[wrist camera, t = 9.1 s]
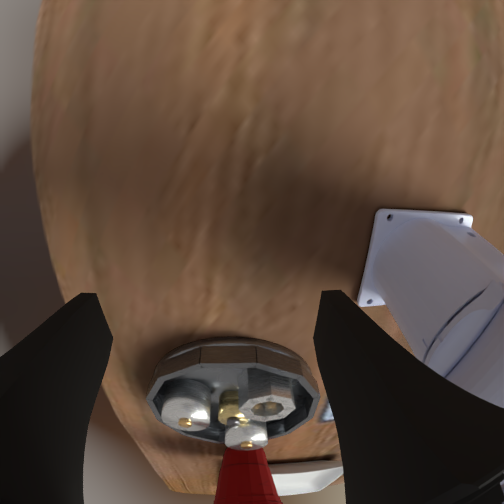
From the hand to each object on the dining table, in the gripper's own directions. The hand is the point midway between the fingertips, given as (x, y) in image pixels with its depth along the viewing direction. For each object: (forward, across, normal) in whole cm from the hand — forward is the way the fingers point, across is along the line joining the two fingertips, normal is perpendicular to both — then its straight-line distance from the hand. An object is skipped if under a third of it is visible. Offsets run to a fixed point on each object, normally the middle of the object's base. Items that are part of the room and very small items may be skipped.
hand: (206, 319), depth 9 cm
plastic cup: (+10, -1, +37) cm, 38 cm away
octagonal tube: (+9, -3, +16) cm, 18 cm away
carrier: (+10, 0, +19) cm, 21 cm away
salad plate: (+10, -8, +53) cm, 55 cm away
